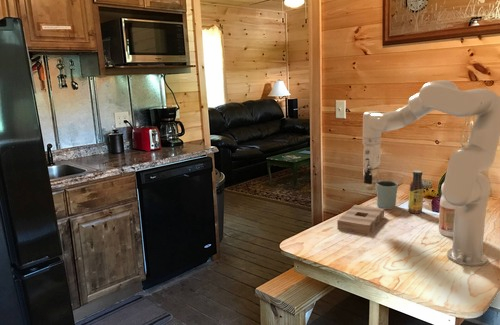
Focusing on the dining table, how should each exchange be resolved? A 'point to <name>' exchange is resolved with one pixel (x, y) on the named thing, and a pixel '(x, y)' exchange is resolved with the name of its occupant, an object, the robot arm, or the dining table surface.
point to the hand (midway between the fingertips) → (370, 181)
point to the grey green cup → (386, 194)
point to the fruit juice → (446, 216)
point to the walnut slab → (360, 219)
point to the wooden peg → (374, 178)
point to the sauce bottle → (416, 193)
